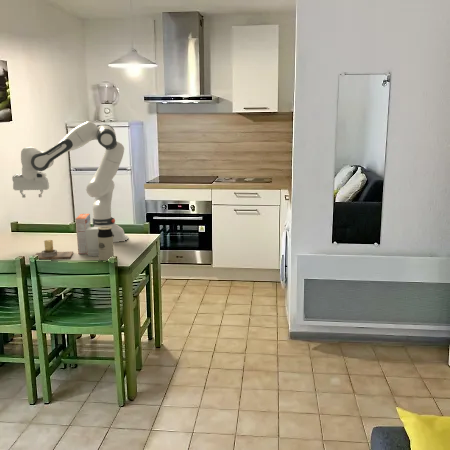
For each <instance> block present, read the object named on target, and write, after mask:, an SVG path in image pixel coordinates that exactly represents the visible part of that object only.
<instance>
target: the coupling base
mask: <svg viewBox="0 0 450 450" xmlns="http://www.w3.org/2000/svg"><path fill="white" fill-rule="evenodd" d="M73 254H74V251H58V250H57V249H53V252H51V253H45V249H44V250H41V252H36V253H35V254H34V255H38V256H39V259H49V260H71V258H72V256H74V255H73Z"/></svg>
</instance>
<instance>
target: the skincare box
mask: <svg viewBox="0 0 450 450" xmlns="http://www.w3.org/2000/svg"><path fill="white" fill-rule="evenodd" d="M98 232H99V230H98V227H93V226H91V227H88V228H87V229H86V240H87V251H88V254H87V257H91V256H92V257H93V256H94V257H95V256H96V257H97V256H98V257H99V249H98Z"/></svg>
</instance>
